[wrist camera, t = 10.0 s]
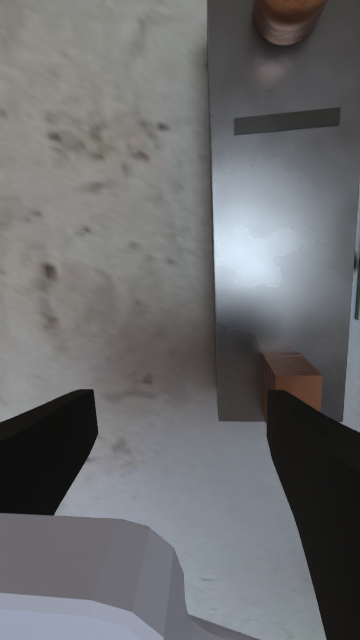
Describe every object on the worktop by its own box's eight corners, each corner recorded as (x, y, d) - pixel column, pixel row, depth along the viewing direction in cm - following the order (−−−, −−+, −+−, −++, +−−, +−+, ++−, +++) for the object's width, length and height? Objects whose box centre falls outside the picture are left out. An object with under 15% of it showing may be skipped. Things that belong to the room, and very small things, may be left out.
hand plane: (330, 28, 16) (438, -177, 9) (313, 387, 20) (374, 460, 13) (207, 44, 17) (206, -131, 9) (216, 388, 21) (221, 457, 14)
